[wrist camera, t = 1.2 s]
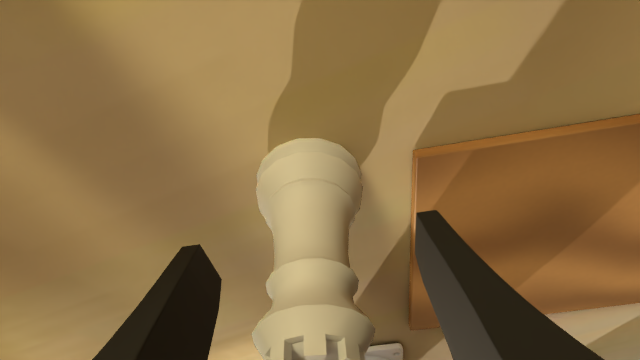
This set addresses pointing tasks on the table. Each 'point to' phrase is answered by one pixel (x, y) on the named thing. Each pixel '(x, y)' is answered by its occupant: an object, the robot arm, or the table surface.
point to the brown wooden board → (540, 212)
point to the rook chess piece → (311, 254)
